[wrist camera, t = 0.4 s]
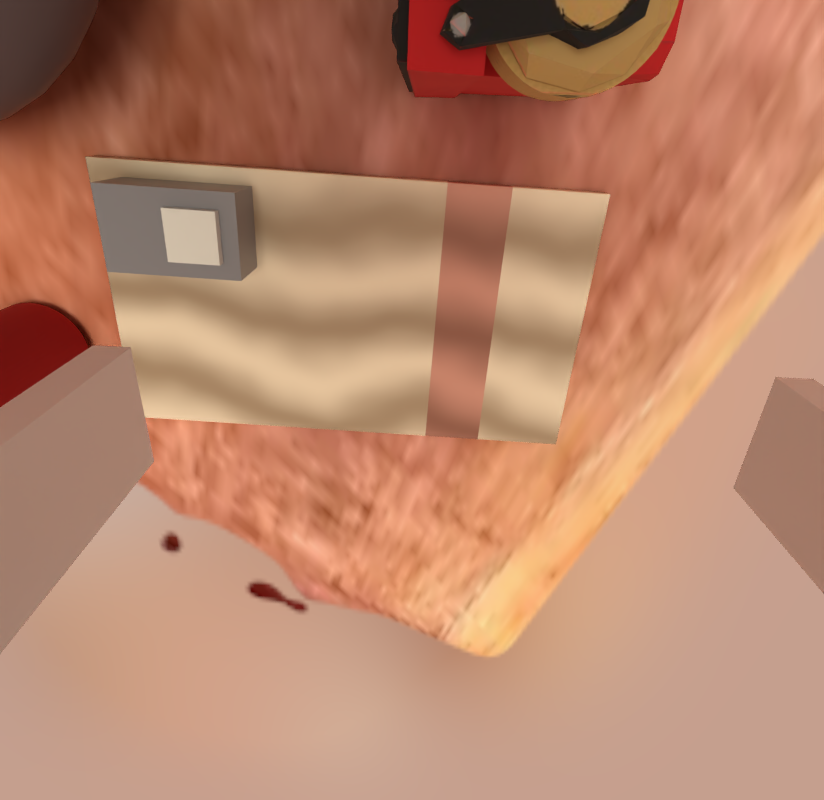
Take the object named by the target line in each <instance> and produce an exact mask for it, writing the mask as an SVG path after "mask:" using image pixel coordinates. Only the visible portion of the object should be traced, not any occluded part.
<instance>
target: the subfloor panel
mask: <svg viewBox="0 0 824 800" xmlns="http://www.w3.org/2000/svg"><path fill="white" fill-rule="evenodd" d="M85 158H86V163H87V168H88V173H89V179H90V182H96V181H101V180H107V179H112V178H118V177H130V178H144V179H159V180H173V181H187V182H201V183H215V184H229V185H243V186H252V194H253V209H254V224H255V240H256V255H257V268H256V269H255V270H254V271H252V272H251V273H250V274H249V275H248V276H247V277H246V278H244V279H243V280H242V281H232V280H218V279H203V278H189V277H174V276H160V275H145V274H131V273H116V272H108V278H109V283H110V288H111V293H112V299H113V304H114V309H115V314H116V319H117V325H118V330H119V335H120V340H121V345H122V347H131V352H132V357H133V362H134V366H135V371H136V376H137V381H138V386H139V391H140V395H141V400H142V405H143V410H144V415H145V417H147V418H163V419H178V420H193V421H208V422H224V423H239V424H254V425H270V426H285V427H300V428H315V429H331V430H346V431H361V432H376V433H392V434H407V435H422V436H438V437H453V438H468V439H483V440H499V441H514V442H529V443H544V444H556V441H557V436H558V432H559V427H560V423H561V418H562V414H563V409H564V404H565V400H566V395H567V391H568V386H569V382H570V377H571V372H572V368H573V363H574V359H575V354H576V349H577V345H578V340H579V336H580V331H581V327H582V322H583V317H584V313H585V308H586V304H587V299H588V295H589V290H590V285H591V281H592V276H593V272H594V267H595V262H596V258H597V253H598V249H599V244H600V240H601V235H602V230H603V226H604V221H605V217H606V212H607V208H608V203H609V198H610V194H608V193H605V192H595V191H581V190H567V189H553V188H539V187H525V186H511V185H498V184H484V183H470V182H456V181H442V180H428V179H414V178H400V177H386V176H372V175H358V174H344V173H330V172H317V171H303V170H289V169H275V168H261V167H247V166H233V165H219V164H205V163H191V162H177V161H163V160H150V159H136V158H122V157H108V156H87V157H85ZM90 184H91V183H90ZM91 189H92V188H91ZM94 205H95V204H94ZM95 210H96V209H95ZM99 231H100V230H99ZM100 236H101V235H100ZM103 252H104V251H103ZM104 257H105V256H104Z"/></svg>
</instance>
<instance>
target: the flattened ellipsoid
mask: <svg viewBox="0 0 824 800" xmlns="http://www.w3.org/2000/svg"><path fill="white" fill-rule="evenodd" d="M98 2H99V0H0V120H3V119H6V118H9V117H11V116H12V115H13V114H15V113H16V112H18V111H19V110H21V109H22V108H24V107H25V106H27V105H28V104H30V103H31V102H32V101H34V100H35V99H37V98H38V97H40V96H41V95H43V94H44V93H45V92H46V91H47V90H48V89H49V87H50V86H51V85H52V84H53V83H54V81H55V80H56V79H57V78H58V77H59V75H60V74H61V73H62V72H63V71H64V70H65V68H66V67H67V66H68V65H69V64H70V62H71V61H72V60H73V59H74V57H75V55H76V53H77V51H78V49H79V47H80V45H81V43H82V40H83V38H84V36H85V34H86V32H87V30H88V28H89V26H90V24H91V22H92V20H93V18H94V16H95V14H96V10H97V6H98Z"/></svg>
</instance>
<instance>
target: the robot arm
mask: <svg viewBox="0 0 824 800" xmlns="http://www.w3.org/2000/svg"><path fill="white" fill-rule="evenodd" d="M153 462H154V458H153V454H152V449H151V444H150V439H149V434H148V429H147V424H146V420H145V415H144V410H143V405H142V400H141V395H140V391H139V386H138V381H137V376H136V371H135V366H134V362H133V357H132V352H131V347H115V346H94V345H93V346H91V347H90V348H88V349H87V350H85V351H84V352H82V353H81V354H79V355H78V356H76V357H75V358H73V359H72V360H70V361H69V362H67V363H66V364H64V365H63V366H61V367H60V368H58V369H57V370H55V371H54V372H52V373H51V374H49V375H48V376H46V377H45V378H43V379H42V380H40V381H39V382H37V383H36V384H34V385H33V386H31V387H30V388H28V389H27V390H25V391H24V392H23V393H21V394H20V395H18V396H17V397H15V398H14V399H12V400H11V401H9V402H8V403H6V404H5V405H3V406H2V407H0V654H1V652H2V651H3V650H4V649H5V647H6V646H7V645H8V644H9V642H10V641H11V640H12V639H13V637H14V636H15V635H16V634H17V632H18V631H19V630H20V629H21V627H22V626H23V625H24V624H25V622H26V621H27V620H28V619H29V617H30V616H31V615H32V614H33V612H34V611H35V610H36V608H37V607H38V606H39V605H40V604H41V602H42V601H43V600H44V599H45V597H46V596H47V595H48V593H49V592H50V591H51V590H52V589H53V587H54V586H55V585H56V583H57V582H58V581H59V580H60V578H61V577H62V576H63V575H64V574H65V572H66V571H67V570H68V568H69V567H70V566H71V565H72V564H73V562H74V561H75V560H76V558H77V557H78V556H79V554H80V553H81V552H82V551H83V550H84V548H85V547H86V546H87V545H88V543H89V542H90V541H91V540H92V538H93V537H94V536H95V535H96V533H97V532H98V531H99V530H100V528H101V527H102V526H103V525H104V523H105V522H106V521H107V519H108V518H109V517H110V516H111V515H112V513H113V512H114V511H115V509H116V508H117V507H118V506H119V505H120V503H121V502H122V501H123V499H124V498H125V497H126V496H127V494H128V493H129V492H130V491H131V490H132V488H133V487H134V486H135V485H136V483H137V482H138V481H139V480H140V478H141V477H142V476H143V475H144V473H145V472H146V471H147V470H148V468H149V467H150V466H151V464H152V463H153ZM734 489H735V490H736V491H737V493H738V494H739V495H740V496H741V497H742V498H743V500H744V501H745V502H746V503H747V504H748V505H749V507H750V508H751V509H752V510H753V511H754V513H755V514H756V515H757V516H758V517H759V518H760V520H761V521H762V522H763V523H764V524H765V525H766V527H767V528H768V529H769V530H770V531H771V532H772V533H773V535H774V536H775V537H776V538H777V539H778V541H779V542H780V543H781V544H782V545H783V547H785V549H786V550H787V551H788V552H789V554H790V555H791V556H792V557H793V558H794V559H795V560H796V562H797V563H798V564H799V565H800V566H801V568H802V569H803V570H804V571H805V572H806V573H807V575H808V576H809V577H810V578H811V579H812V580H813V582H814V583H815V584H816V585H817V586H818V587H819V589H820V590H821V591H822V592H823V593H824V386H823V385H822V384H820V383H818V382H817V381H815V380H814V379H802V378H781V377H776V378H775V380H774V383H773V386H772V388H771V391H770V393H769V396H768V399H767V402H766V404H765V407H764V409H763V412H762V414H761V417H760V420H759V422H758V425H757V428H756V430H755V433H754V435H753V438H752V440H751V443H750V446H749V449H748V451H747V454H746V456H745V459H744V461H743V464H742V467H741V469H740V472H739V475H738V477H737V480H736V482H735V485H734Z"/></svg>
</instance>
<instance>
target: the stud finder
mask: <svg viewBox="0 0 824 800" xmlns="http://www.w3.org/2000/svg"><path fill="white" fill-rule="evenodd" d="M90 183H91V188H92V194H93V199H94V204H95V209H96V215H97V220H98V225H99V230H100V235H101V241H102V246H103V251H104V256H105V262H106V267H107V272H116V273H131V274H145V275H160V276H174V277H189V278H203V279H218V280H232V281H242V280H243V279H244V278H246V277H247V276H248V275H249V274H250V273H251V272H252V271H254V270H255V269H256V268H257V255H256V240H255V224H254V209H253V194H252V186H243V185H229V184H215V183H201V182H187V181H173V180H159V179H144V178H130V177H118V178H112V179H107V180H101V181H96V182H90Z"/></svg>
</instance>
